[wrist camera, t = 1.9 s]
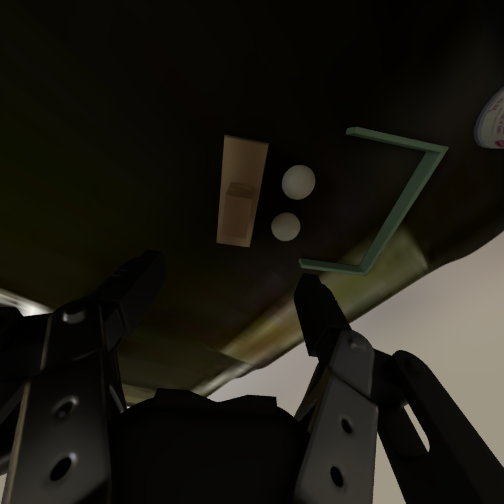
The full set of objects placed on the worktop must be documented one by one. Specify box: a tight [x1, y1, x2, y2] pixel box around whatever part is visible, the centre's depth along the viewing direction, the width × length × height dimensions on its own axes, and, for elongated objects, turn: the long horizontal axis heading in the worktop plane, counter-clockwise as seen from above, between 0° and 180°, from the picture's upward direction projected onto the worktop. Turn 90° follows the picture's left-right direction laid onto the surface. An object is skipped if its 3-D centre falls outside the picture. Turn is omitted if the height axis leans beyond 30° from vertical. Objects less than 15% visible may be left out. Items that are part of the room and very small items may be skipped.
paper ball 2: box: [271, 212, 300, 241], centre depth 25 cm, size 4×4×4 cm
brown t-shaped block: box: [217, 135, 269, 247], centre depth 21 cm, size 5×13×10 cm, turn 170°
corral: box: [299, 127, 449, 276], centre depth 26 cm, size 12×19×2 cm, turn 170°
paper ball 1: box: [282, 165, 315, 200], centre depth 22 cm, size 4×4×4 cm
